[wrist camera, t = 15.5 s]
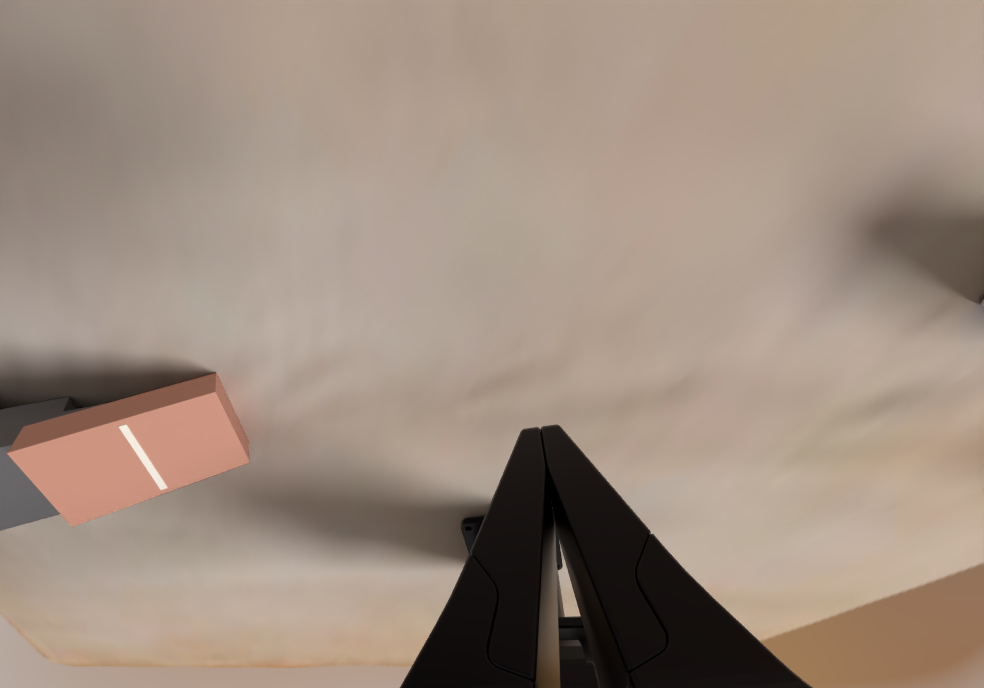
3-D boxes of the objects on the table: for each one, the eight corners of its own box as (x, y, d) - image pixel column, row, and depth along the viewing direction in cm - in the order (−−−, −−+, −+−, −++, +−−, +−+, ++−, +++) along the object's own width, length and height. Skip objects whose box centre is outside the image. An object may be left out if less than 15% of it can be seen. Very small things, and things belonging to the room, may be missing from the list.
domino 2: (173, 483, 25) (-21, 537, 21) (175, 458, 26) (-5, 505, 23) (143, 417, 22) (-83, 465, 19) (148, 394, 24) (-60, 435, 20)
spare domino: (249, 462, 24) (71, 527, 21) (248, 440, 26) (82, 497, 22) (215, 392, 21) (6, 454, 18) (216, 372, 23) (24, 425, 20)
